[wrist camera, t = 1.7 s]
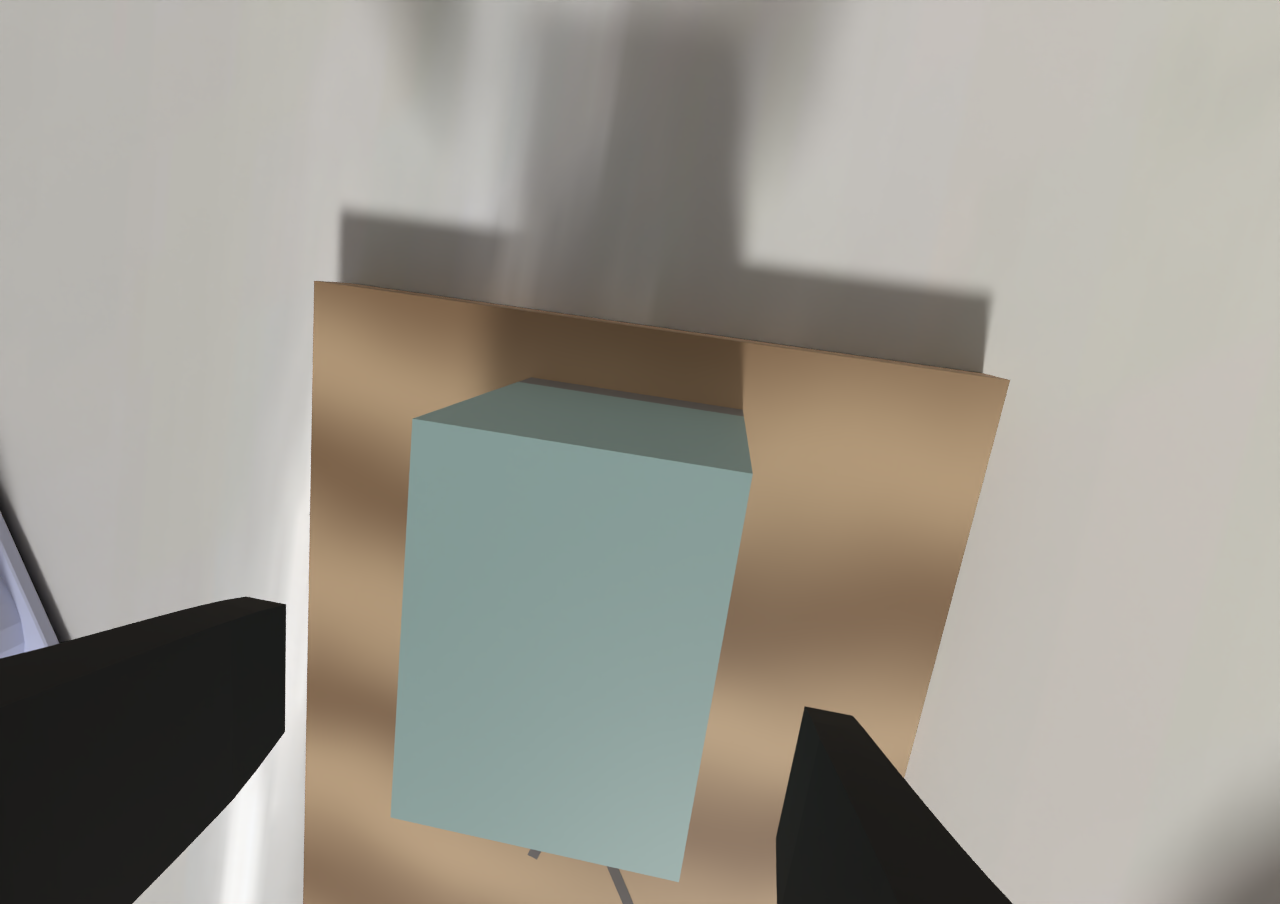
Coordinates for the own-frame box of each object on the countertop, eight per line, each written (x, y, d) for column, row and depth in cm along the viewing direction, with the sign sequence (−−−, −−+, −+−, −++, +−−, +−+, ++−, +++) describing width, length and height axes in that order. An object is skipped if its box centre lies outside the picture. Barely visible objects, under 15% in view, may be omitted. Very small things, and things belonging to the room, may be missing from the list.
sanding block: (531, 377, 15) (412, 418, 10) (742, 409, 15) (753, 474, 9) (505, 643, 17) (390, 817, 11) (695, 680, 17) (679, 882, 11)
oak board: (349, 283, 17) (314, 281, 16) (983, 373, 16) (1010, 380, 14) (328, 994, 23) (300, 1041, 21) (793, 1113, 21) (798, 1173, 20)
